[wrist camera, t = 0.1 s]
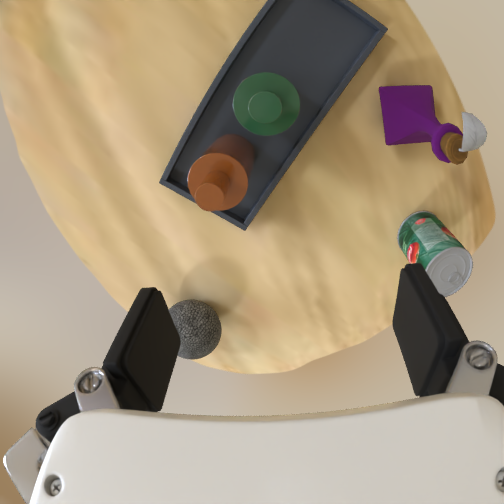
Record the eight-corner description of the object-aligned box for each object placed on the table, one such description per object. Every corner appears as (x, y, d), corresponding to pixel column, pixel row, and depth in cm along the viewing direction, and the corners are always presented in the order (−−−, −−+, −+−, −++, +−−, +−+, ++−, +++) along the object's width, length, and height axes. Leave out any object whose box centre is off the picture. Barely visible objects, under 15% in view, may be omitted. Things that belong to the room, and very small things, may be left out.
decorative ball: (160, 306, 54) (143, 346, 46) (193, 277, 50) (178, 319, 42) (201, 336, 58) (190, 377, 49) (236, 312, 54) (230, 356, 45)
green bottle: (260, 66, 33) (251, 56, 20) (302, 91, 34) (319, 97, 21) (235, 105, 35) (212, 120, 23) (276, 129, 37) (277, 158, 24)
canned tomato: (387, 239, 44) (412, 282, 35) (420, 200, 40) (454, 236, 31) (418, 263, 46) (443, 306, 37) (448, 228, 42) (481, 266, 33)
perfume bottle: (426, 136, 35) (504, 179, 20) (378, 140, 37) (441, 186, 21) (420, 84, 32) (504, 98, 16) (370, 85, 33) (437, 95, 18)
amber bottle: (223, 125, 37) (194, 151, 24) (263, 148, 38) (257, 187, 25) (201, 163, 40) (165, 208, 27) (239, 185, 41) (223, 240, 28)
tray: (291, -27, 26) (292, -32, 24) (382, 31, 29) (388, 29, 27) (163, 178, 42) (158, 183, 40) (246, 224, 45) (245, 231, 43)
